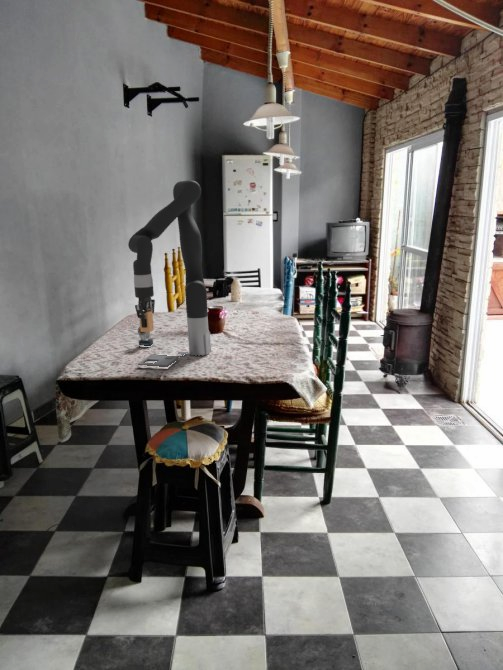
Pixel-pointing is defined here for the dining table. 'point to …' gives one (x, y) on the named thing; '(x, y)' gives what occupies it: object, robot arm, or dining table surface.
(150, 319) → the block
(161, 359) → the outlet plate
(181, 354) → the phone
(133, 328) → the dining table surface
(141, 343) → the watch
